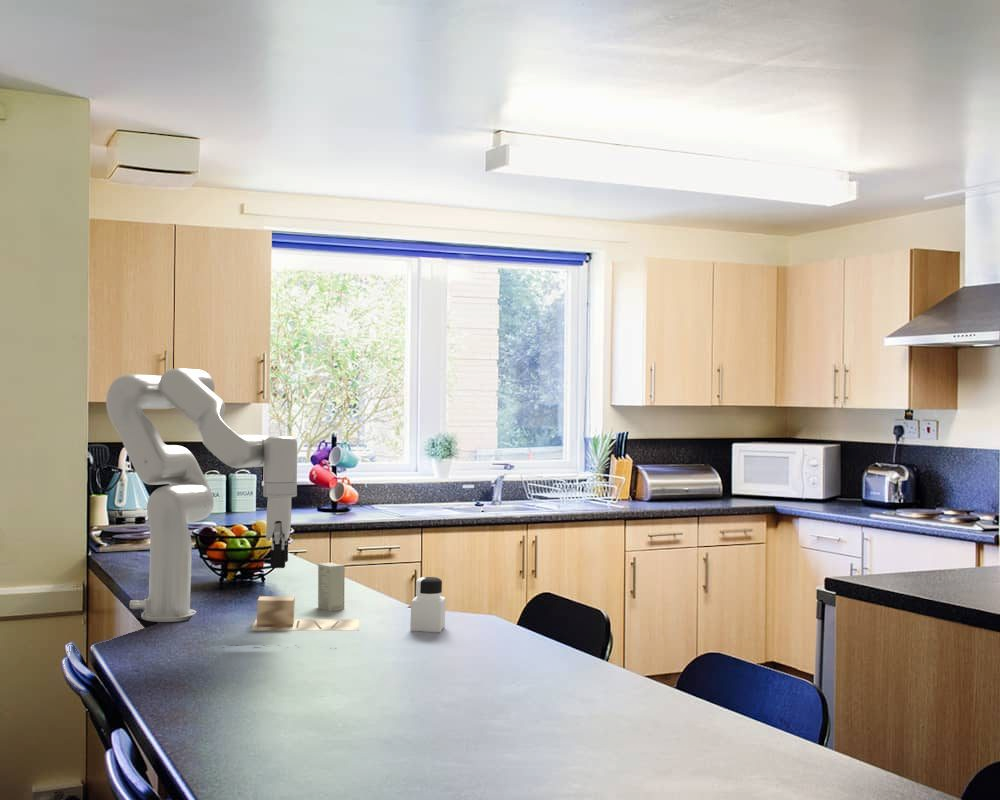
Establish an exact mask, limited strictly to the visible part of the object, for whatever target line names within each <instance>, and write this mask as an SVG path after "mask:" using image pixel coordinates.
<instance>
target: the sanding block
mask: <svg viewBox="0 0 1000 800" xmlns="http://www.w3.org/2000/svg"><path fill="white" fill-rule="evenodd" d="M295 599H296V597H295V596H281V595H279V596H276V595H275V596H267V595H266V596H264V595H263V596H261V595H260V596H259V597H258V599H257V604H256V605H257V607H256V609H257V610H256V612H257V613H256V619H257V627H293V624H294V619H295V602H296V601H295Z"/></svg>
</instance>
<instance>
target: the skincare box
mask: <svg viewBox="0 0 1000 800" xmlns="http://www.w3.org/2000/svg"><path fill="white" fill-rule="evenodd" d="M317 569H318V570H317V578H318V579H317V609H323V610H326V611H329V612H334V611H341V610H345V564H341V563H337V562H324V563H318V564H317Z"/></svg>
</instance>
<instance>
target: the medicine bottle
mask: <svg viewBox="0 0 1000 800" xmlns="http://www.w3.org/2000/svg"><path fill="white" fill-rule="evenodd" d="M415 582H416V583H415V597H414V598H413V599H412V600H411V602H410V623H409V624H410V631H411V632H418V631H421V632H423V633H441V632H442V630H443V629H444V628H445V627H446V603H447V598H446V597H445V596H442V594H443V591H442V589H443V581H442V579H440V578H439V577H436V576H423V577H418V578H417V579H416V581H415Z"/></svg>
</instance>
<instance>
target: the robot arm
mask: <svg viewBox="0 0 1000 800" xmlns="http://www.w3.org/2000/svg"><path fill="white" fill-rule="evenodd" d="M105 405H106V412H107V415H108V418H109V420H110V422H111V424H112V425H113V428H114V429H115V431H116V432H117V434H118V436H119V438H120V439H121V442H122V445H123V447H124V449H125V451H126V454H127V455H128V457H129V460H130V462H131V464H132V466H133V469H134V471H135V473H136V475H137V477H138V478H139V480H140V481H141V482H142V483H143V484H145V485H151V486H153V485H155V486H156V485H157V486H158V485H163V486H160V487H158V488H156V489H155V490H154V491H153V492H152V493H151V494H150V495H149V497H148V500H147V505H146V512H147V518H148V520H147V521H148V525H149V535H150V536H149V541H150V542H149V570H148V571H149V572H148V574H149V578H148V579H149V580H148V597H147V598H144V599H143V600H138V599H135V600H134V599H132V600H129V609H132V610H143V612H141V616H140V617H141V619H142V620H144V621H147V622H152V623H153V622H157V623H173V622H175V623H177V622H184V621H189V620H191V619H192V617H193V616H194V615H195V614H196V613H197V610H195V609H193V608H191V585H192V584H191V581H192V580H191V579H192V555H193V554H192V549H193V548H192V547H193V546H192V545H193V543H192V542H193V541H192V537H191V533H190V531H189V530H190V529H189V527H188V523H189V524H190V523H194V522H200V521H203V520H205V519H207V518H208V517H209V516H210V515H211V513H212V511H213V510H214V509H213V508H214V503H215V502H214V497H213V496H214V495H213V493H212V490H211V488H210V486H209V484H208V481H207V480H206V478H205V475H204V473H203V471H202V469H201V467H200V465H199V463H198V461H197V459H196V457H195V456H194V454H193V453H192V451H190V450H189V449H188V448H187V447H184V446H182V445H177V444H166V443H165V442H164V441H163V439H162V437H161V435H160V433H159V431H158V428H157V427H156V425H155V424H154V422H153V421H152V419H150V418H149V417H148V416H147V415H146V414H145V413H144V412H143V410H167V409H168V410H169V409H174V408H175V409H177V410H178V411H179V412H180V413H181V414H182V415H183V416H184V417H185V418H187V419H188V420H189V421H190V422H191V423H192V424H193V425H195V427H197V430H198V434H199V435H198V436H199V437H200V440H201V442H202V444H203V445H204V447H205V448H206V449H207V450H208V451H209V452H210V453H212V455H213V456H215V457H216V458H217V459H218V460H219V461H220V462H222V463H224V465H227V466H228V467H231V468H234V469H245V468H261V467H263V481H262V482H263V483H262V484H263V491H262V492H263V493H262V495H263V497H264V498H267V503H266V504H267V505H266V531H265V533H266V534H265V540H266V541H268V542H269V541H271V550H270V568H271V569H285V568H286V563H287V562H289V544H288V540H289V537H290V534H291V525H292V498H295V497H297V496H298V492H297V491H298V488H297V487H298V486H297V485H298V477H297V476H298V440H297V439H296V438H295V437H293V436H291V435H290V436H286V435H285V436H284V435H282V436H281V435H280V436H279V435H277V436H275V435H273V436H269V435H264V434H263V435H262V434H238V433H237V432H236V431H234V430H233V429H232V428H231V427H230V426H228V425H227V423H225V421H224V420H223V419H222V418H223V416H224V415H225V412H226V404H225V402H224V400H223V399H221V398H220V397H219V396H218V395H217V394H215V382H214V380H213V378H212V377H211V375H210V374H209V373H208V372H206V371H204V370H202V369H199V368H198V369H196V368H186V367H185V368H184V367H175V368H171V369H168V370H167V371H166V372H164V373H163V374H162V375H159V374H144V373H143V374H142V373H129V374H124V375H122V376H119V377H118V378H116V379H114V381H112V383H111V385H110V386H109V387H108V390H107V393H106V400H105Z"/></svg>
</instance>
